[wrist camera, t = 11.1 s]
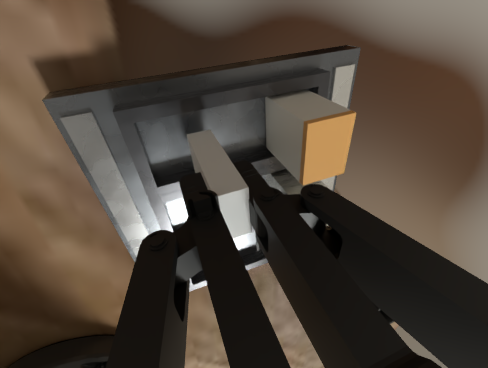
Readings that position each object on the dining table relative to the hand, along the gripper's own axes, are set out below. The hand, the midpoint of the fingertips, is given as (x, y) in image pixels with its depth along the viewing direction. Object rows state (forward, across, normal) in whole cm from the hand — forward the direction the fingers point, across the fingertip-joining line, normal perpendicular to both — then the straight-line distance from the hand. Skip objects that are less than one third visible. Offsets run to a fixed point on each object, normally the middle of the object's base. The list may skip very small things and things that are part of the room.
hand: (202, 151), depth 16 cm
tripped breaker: (+2, +7, 0) cm, 7 cm away
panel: (+3, +3, -6) cm, 7 cm away
